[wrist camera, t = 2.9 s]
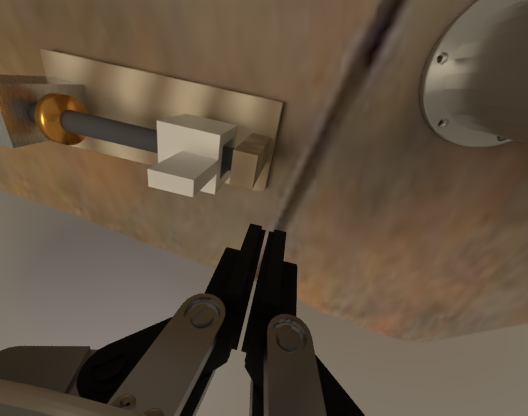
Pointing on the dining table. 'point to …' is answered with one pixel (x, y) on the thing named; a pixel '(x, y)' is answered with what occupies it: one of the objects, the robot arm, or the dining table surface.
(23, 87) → the connector
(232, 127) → the sleeve
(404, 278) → the dining table surface
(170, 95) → the beige rod holder
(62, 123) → the dark grey rod
